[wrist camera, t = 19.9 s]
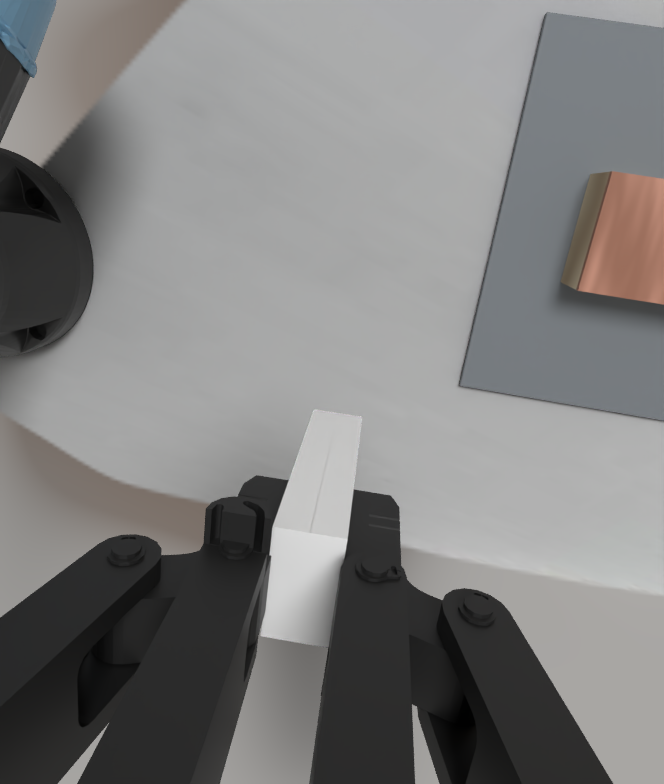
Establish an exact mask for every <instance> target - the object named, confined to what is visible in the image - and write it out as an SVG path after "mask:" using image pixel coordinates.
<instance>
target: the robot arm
mask: <svg viewBox="0 0 664 784" xmlns="http://www.w3.org/2000/svg"><path fill="white" fill-rule="evenodd" d="M55 5H56V0H0V142H1V140H2V138H3V136H4V134H5V131H6V129H7V127H8V125H9V122H10V120H11V118H12V115H13V113H14V111H15V109H16V107H17V104H18V102H19V100H20V98H21V96H22V93H23V91H24V89H25V87H26V84H27V82H28V80H29V78H30V76H31V77H33V78H34V76H35V74H36V72H37V67H36V63H35V60H36V57H37V55H38V52H39V49H40V46H41V44H42V41H43V39H44V36H45V33H46V30H47V28H48V25H49V22H50V20H51V17H52V14H53V12H54V9H55ZM92 278H93V260H92V251H91V246H90V242H89V238H88V234H87V231H86V228H85V226H84V223H83V221H82V219H81V216H80V214H79V213H78V211H77V209H76V207H75V205H74V204H73V202H72V201H71V199H70V198H69V196H68V195H67V193H66V192H65V191H64V190H63V189H62V187H61V186H60V185H59V184H58V183H57V182H56V181H55V180H54V179H53V178H52V177H51V176H50V175H49V174H48V173H47V172H46V171H44V170H43V169H42V168H40V167H39V166H38V165H36V164H35V163H33V162H32V161H30V160H28V159H27V158H25V157H23V156H21V155H19V154H16V153H14V152H11V151H9V150H6V149H2V148H0V357H6V356H14V355H20V354H24V353H27V352H30V351H33V350H35V349H38V348H40V347H42V346H45V345H47V344H49V343H51V342H53V341H55V340H57V339H58V338H60V337H61V336H63V335H64V334H65V333H66V332H67V331H68V330H69V329H70V328H71V327H72V326H73V325H74V324H75V323H76V321H77V320H78V319H79V317H80V315H81V314H82V312H83V310H84V308H85V306H86V303H87V301H88V298H89V294H90V291H91V285H92ZM361 424H362V417H360V416H354V415H348V414H341V413H335V412H328V411H322V410H316V409H314V410H313V413H312V416H311V419H310V421H309V424H308V427H307V430H306V433H305V436H304V439H303V441H302V444H301V447H300V450H299V453H298V456H297V458H296V461H295V464H294V467H293V470H292V473H291V476H290V478H289V481H288V480H282V479H276V478H270V477H263V476H257V475H256V476H255V477H253V478H252V479H250V480H249V481H247V482H246V483H244V484H243V486H242V488H241V490H240V492H239V494H238V496H237V497H228V498H221V499H219V500H217V501H214V502H212V503H211V504H210V505H209V506H208V507H207V508H206V516H205V531H204V544H203V546H202V548H201V549H200V551H197V552H193V553H189V554H181V555H161V547H160V546H159V545H158V543H157V542H156V541H154V540H152V539H150V538H148V537H146V536H140V535H120V536H117V537H112V538H109V539H107V540H105V541H103V542H101V543H99V544H98V545H97V546H95V547H94V548H93V549H91V550H90V551H88V552H87V553H86V554H84V555H83V556H82V557H81V558H79V559H78V560H76V561H75V562H74V563H72V564H71V565H70V566H68V567H67V568H66V569H65V570H63V571H62V572H60V573H59V574H58V575H56V576H55V577H54V578H52V579H51V580H50V581H48V582H47V583H46V584H44V585H43V586H42V587H41V588H39V589H38V590H36V591H35V592H34V593H32V594H31V595H30V596H28V597H27V598H26V599H25V600H23V601H22V602H21V603H19V604H18V605H17V606H15V607H14V608H13V609H11V610H10V611H9V612H7V613H6V614H5V615H3V616H2V617H1V618H0V784H58V782H59V781H60V780H61V779H62V778H63V776H64V775H65V774H66V773H67V772H68V770H69V769H70V768H71V767H72V766H73V765H74V763H75V762H76V761H77V760H78V759H79V757H80V756H81V755H82V754H83V753H84V752H85V750H86V749H87V748H88V747H89V746H90V744H91V743H92V742H93V741H94V740H95V739H96V737H97V736H98V735H99V734H100V733H101V731H102V730H103V729H104V728H105V727H106V725H107V724H108V723H109V724H108V726H107V728H106V730H105V732H104V734H103V736H102V738H101V740H100V741H99V743H98V745H97V747H96V749H95V751H94V753H93V755H92V757H91V759H90V760H89V762H88V764H87V766H86V768H85V770H84V772H83V774H82V776H81V778H80V779H79V781H78V783H77V784H220V780H221V777H222V773H223V770H224V766H225V763H226V759H227V756H228V752H229V749H230V745H231V742H232V738H233V735H234V731H235V728H236V724H237V721H238V717H239V714H240V710H241V706H242V703H243V700H244V696H245V692H246V689H247V685H248V682H249V679H250V675H251V672H252V668H253V665H254V661H255V658H256V652H257V643H258V635H259V632H260V628H261V625H262V628H261V636H263V637H269V638H275V639H280V640H286V641H292V642H297V643H303V644H309V645H314V646H320V647H326V648H328V655H327V661H326V667H325V673H324V679H323V685H322V692H321V703H320V710H319V717H318V726H317V732H316V739H315V746H314V753H313V761H312V768H311V775H310V783H309V784H415V774H414V747H413V723H412V704H413V705H415V706H417V709H418V717H419V720H420V724H421V727H422V730H423V733H424V736H425V740H426V743H427V746H428V749H429V752H430V755H431V758H432V761H433V765H434V768H435V771H436V774H437V777H438V780H439V783H440V784H613V783H612V781H611V779H610V778H609V776H608V774H607V773H606V771H605V769H604V768H603V766H602V764H601V763H600V761H599V760H598V758H597V756H596V755H595V753H594V751H593V749H592V748H591V746H590V745H589V743H588V741H587V740H586V738H585V736H584V735H583V733H582V731H581V730H580V728H579V726H578V725H577V723H576V721H575V720H574V718H573V716H572V715H571V713H570V711H569V710H568V708H567V706H566V705H565V703H564V701H563V700H562V698H561V697H560V695H559V693H558V692H557V690H556V688H555V687H554V685H553V683H552V682H551V680H550V678H549V677H548V675H547V673H546V672H545V670H544V669H543V667H542V665H541V664H540V662H539V660H538V658H537V657H536V655H535V654H534V652H533V650H532V649H531V647H530V645H529V644H528V642H527V640H526V639H525V637H524V635H523V634H522V632H521V630H520V629H519V627H518V626H517V624H516V622H515V620H514V619H513V617H512V616H511V614H510V612H509V611H508V610H507V609H506V608H505V606H504V605H503V604H502V603H501V602H499V601H498V600H497V599H495V598H494V597H492V596H491V595H488V594H486V593H483V592H480V591H478V590H472V589H465V588H464V589H456V590H452V591H451V592H449V593H448V594H446V595H445V597H444V599H443V600H440V599H437V598H435V597H433V596H430V595H428V594H426V593H424V592H422V591H420V590H418V589H417V588H416V587H414V586H413V585H412V584H411V583H409V581H408V580H407V577H406V574H405V571H404V569H403V568H402V566H401V549H400V521H399V520H400V517H399V506H398V505H397V504H396V502H395V501H394V499H393V498H392V497H391V496H390V495H383V494H377V493H371V492H365V491H359V490H354V482H355V474H356V466H357V457H358V449H359V441H360V433H361Z"/></svg>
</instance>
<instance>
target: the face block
mask: <svg viewBox="0 0 664 784" xmlns="http://www.w3.org/2000/svg"><path fill="white" fill-rule="evenodd" d="M561 282H562V283H564V284H566V285H567V286H569V287H571V288H573V289H575V290H577V291H582V292H589V293H595V294H601V295H607V296H614V297H620V298H626V299H632V300H638V301H645V302H651V303H657V304H663V305H664V179H661V178H655V177H648V176H641V175H635V174H628V173H621V172H615V171H610V172H602V173H594V174H590V177H589V181H588V184H587V188H586V192H585V195H584V199H583V203H582V206H581V210H580V213H579V217H578V221H577V224H576V228H575V231H574V235H573V239H572V242H571V246H570V249H569V253H568V257H567V260H566V264H565V267H564V271H563V275H562V278H561Z"/></svg>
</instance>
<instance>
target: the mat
mask: <svg viewBox="0 0 664 784" xmlns="http://www.w3.org/2000/svg"><path fill="white" fill-rule="evenodd" d="M610 171H615V172H621V173H628V174H635V175H641V176H648V177H655V178H661V179H664V28H660V27H652V26H645V25H638V24H630V23H623V22H616V21H608V20H601V19H594V18H586V17H579V16H572V15H564V14H557V13H550V12H547V13H546V14H545V17H544V21H543V26H542V30H541V34H540V38H539V43H538V47H537V51H536V56H535V60H534V64H533V69H532V73H531V77H530V81H529V86H528V90H527V94H526V99H525V103H524V107H523V112H522V116H521V120H520V125H519V129H518V133H517V137H516V142H515V146H514V150H513V155H512V159H511V163H510V168H509V172H508V176H507V181H506V185H505V189H504V193H503V198H502V202H501V206H500V211H499V215H498V219H497V224H496V228H495V232H494V236H493V241H492V245H491V249H490V254H489V258H488V262H487V267H486V271H485V275H484V280H483V284H482V288H481V292H480V297H479V301H478V305H477V310H476V314H475V318H474V323H473V327H472V331H471V335H470V340H469V344H468V348H467V353H466V357H465V361H464V366H463V370H462V374H461V379H460V383H459V384H460V386H464V387H470V388H476V389H482V390H488V391H494V392H499V393H505V394H511V395H517V396H523V397H529V398H535V399H540V400H546V401H552V402H558V403H564V404H570V405H575V406H581V407H587V408H593V409H599V410H605V411H611V412H616V413H622V414H628V415H634V416H640V417H646V418H652V419H657V420H663V421H664V305H663V304H657V303H651V302H645V301H638V300H632V299H626V298H620V297H614V296H607V295H601V294H595V293H589V292H582V291H577V290H575V289H573V288H571V287H569V286H567V285H566V284H564V283H562V282H561V278H562V275H563V271H564V267H565V264H566V260H567V257H568V253H569V249H570V246H571V242H572V239H573V235H574V231H575V228H576V224H577V221H578V217H579V213H580V210H581V206H582V203H583V199H584V195H585V192H586V188H587V184H588V181H589V177H590V174H594V173H602V172H610Z"/></svg>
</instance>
